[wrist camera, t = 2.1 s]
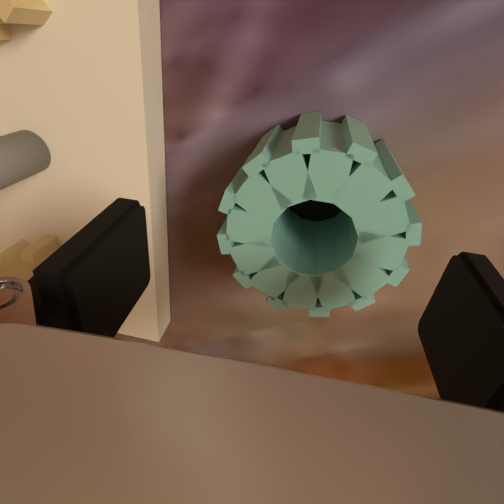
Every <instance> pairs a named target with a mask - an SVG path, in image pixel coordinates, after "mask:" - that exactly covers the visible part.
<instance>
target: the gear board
mask: <svg viewBox="0 0 504 504" xmlns="http://www.w3.org/2000/svg"><path fill="white" fill-rule="evenodd" d="M117 198H126V199H132V200H138V201H139V203H140V205H141V206H144V208H145V212H146V225H147V237H148V250H149V262H150V282H149V284H148V286H147V288H146V289H145V291H144V292H143V294H142V295H141V297H140V298H139V300H138V302H137V303H136V305H135V306H134V308H133V309H132V311H131V312H130V314H129V315H128V317H127V318H126V320H125V321H124V323H123V324H122V326H121V328H120V329H119V331H118V332H117V333H120V334H125V335H129V336H134V337H139V338H143V339H148V340H152V341H157V342H159V341H160V339H161V337H162V335H163V333H164V332H165V330H166V328H167V326H168V324H169V323H170V293H169V265H168V236H167V208H166V179H165V151H164V122H163V94H162V65H161V37H160V8H159V0H0V277H18V278H22V279H24V280H25V281H28V280H29V279H30V278H31V277H32V276H34V275H33V271H32V270H34V269H35V268H36V267H37V266H38V265H40V264H41V263H42V262H43V261H44V260H45V259H47V258H48V257H49V256H50V255H51V254H52V253H54V252H55V251H56V250H57V249H58V248H60V247H61V246H62V245H63V244H64V243H65V242H67V241H68V240H69V239H70V238H71V237H72V236H74V235H75V234H76V233H77V232H78V231H80V230H81V229H82V228H83V227H84V226H85V225H87V224H88V223H89V222H90V221H91V220H92V219H94V218H95V217H96V216H97V215H98V214H100V213H101V212H102V211H103V210H104V209H105V208H107V207H108V206H109V205H110V204H111V203H113V202H114V201H115V200H116V199H117Z"/></svg>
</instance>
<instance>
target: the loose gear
mask: <svg viewBox="0 0 504 504" xmlns="http://www.w3.org/2000/svg"><path fill="white" fill-rule="evenodd" d="M414 196H415V194H414V192H413V190H412V188H411V187H410V185H409V183H408V181H407V180H406V178H405V176H404V174H403V173H402V171H401V169H400V167H399V166H398V164H397V162H396V161H395V159H394V157H393V155H392V154H391V152H390V150H389V149H388V147H387V146H386V144H385V142H384V141H383V139H381V140H379V141H378V142H376V143H375V144H374V143H373V141H372V139H371V137H370V135H369V132H368V130H367V128H366V126H365V124H364V123H363V122H361V121H359V120H357V119H354V118H352V117H350V116H348V115H345V117H344V119H343V121H342V123H335V122H328V121H322V119H321V111H319V112H312V113H304V114H301V115H300V118H299V121H298V123H297V125H296V126H294V127H291V128H289V129H287V130H284V131H283V129H282V128H281V126H280V125H279V124H277V125H276V126H275V127H274V128H272V129H271V130H270V131H269V132H267V133H266V134H265V135H263V137H262V138H261V140H260V141H259V143H258V144H257V146H256V147H255V149H254V150H253V152H252V153H251V154H250V155H249V156H248V158H247V159H246V161H245V162H244V163H243V165H242V166H241V168H240V169H239V171H238V172H237V174H236V175H235V177H234V178H233V180H232V181H231V182H230V184H229V185H228V187H227V188H226V190H225V192H224V195H223V198H222V201H221V203H220V206H219V209H218V211H220V212H223V213H225V214H227V215H228V216H227V218H226V220H225V221H224V223H223V225H222V227H221V228H220V230H219V232H218V234H217V239H218V243H219V247H220V251H221V254H231V256H232V258H233V260H234V262H235V264H236V268H235V270H234V273H233V276H234V277H235V279H236V280H237V281H238V282H239V283H240V284H241V285H242V286H243V287H244V288H245V290H246V289H248V288H250V287H252V286H254V287H255V288H256V289H258V290H259V291H261V292H262V293H264V294H265V295H266V296H267V300H266V304H268V305H270V306H273V307H275V308H277V309H280V310H282V311H285V309H286V308H287V306H288V305H289V306H294V307H299V308H304V309H308V311H309V316H330V309H333V308H338V307H342V306H347V305H351V306H352V308H353V309H354V310H355V311H357V310H359V309H362V308H364V307H366V306H369V305H371V304H373V303H375V299H374V294H373V293H375V292H376V291H377V290H378V289H380V288H381V287H382V286H384V285H385V284H386V283H388V284H391V285H393V286H395V287H397V285H398V284H399V283H400V282H401V280H402V279H403V278H404V277H405V275H406V274H407V273H408V272H409V270H410V269H409V266H408V264H407V261H406V258H405V253H406V250H407V248H408V246H420V242H421V231H422V222H421V220H420V218H419V216H418V214H417V212H416V210H415V209H414V207H413V205H412V203H411V201H410V198H412V197H414ZM307 200H315V201H321V202H327V203H333V204H335V205H336V206H337V207H339V208H340V209H341V211H340V212H339V213H338V214H337V215H336V216H335V217H333V218H330V219H326V220H323V221H320V222H316V221H311V220H305V219H302V218H300V217H299V216H298V215H296V214H295V213H294V212H293V211H291V210H290V209H289V206H292V205H295V204H298V203H301V202H304V201H307Z"/></svg>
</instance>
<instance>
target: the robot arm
mask: <svg viewBox="0 0 504 504" xmlns="http://www.w3.org/2000/svg"><path fill="white" fill-rule="evenodd" d="M32 271H33V275H34V276H32V277H31V278H30V279H29V280H28V281H25V280H24V279H22V278H18V277H0V504H504V279H503V278H502V276H501V275H500V274H499V272H498V271H497V270H496V269H495V267H494V266H493V265H492V263H491V262H490V261H489V259H488V258H487V257H486V256H485V255H480V254H474V253H468V252H461V253H460V254H459V255H458V256H456V255H455V256H453V257H452V258H451V259H450V261H449V263H448V265H447V267H446V269H445V271H444V273H443V275H442V277H441V279H440V281H439V283H438V285H437V287H436V289H435V291H434V293H433V295H432V297H431V299H430V301H429V303H428V305H427V307H426V309H425V311H424V313H423V315H422V317H421V319H420V321H419V324H418V333H419V337H420V340H421V342H422V345H423V348H424V351H425V354H426V357H427V360H428V363H429V366H430V369H431V372H432V374H433V377H434V380H435V383H436V386H437V389H438V392H439V395H440V398H441V399H437V398H432V397H427V396H422V395H417V394H411V393H406V392H401V391H396V390H391V389H386V388H381V387H375V386H370V385H365V384H360V383H355V382H350V381H345V380H339V379H334V378H329V377H324V376H318V375H313V374H308V373H303V372H297V371H292V370H287V369H282V368H276V367H271V366H266V365H260V364H255V363H250V362H244V361H239V360H234V359H228V358H223V357H218V356H212V355H207V354H201V353H196V352H190V351H185V350H179V349H174V348H169V347H163V346H158V345H152V344H147V343H141V342H136V341H130V340H125V339H119V338H114V337H115V335H116V334H117V332H118V331H119V329H120V328H121V326H122V324H123V323H124V321H125V320H126V318H127V317H128V315H129V314H130V312H131V311H132V309H133V308H134V306H135V305H136V303H137V302H138V300H139V298H140V297H141V295H142V294H143V292H144V291H145V289H146V288H147V286H148V284H149V282H150V262H149V250H148V237H147V225H146V212H145V208H144V206H141V205H140V203H139V201H138V200H132V199H126V198H117V199H116V200H115V201H114V202H113V203H111V204H110V205H109V206H108V207H107V208H105V209H104V210H103V211H102V212H101V213H100V214H98V215H97V216H96V217H95V218H94V219H92V220H91V221H90V222H89V223H88V224H87V225H85V226H84V227H83V228H82V229H81V230H80V231H78V232H77V233H76V234H75V235H74V236H72V237H71V238H70V239H69V240H68V241H67V242H65V243H64V244H63V245H62V246H61V247H60V248H58V249H57V250H56V251H55V252H54V253H52V254H51V255H50V256H49V257H48V258H47V259H45V260H44V261H43V262H42V263H41V264H40V265H38V266H37V267H36V268H35V269H34V270H32Z"/></svg>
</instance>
